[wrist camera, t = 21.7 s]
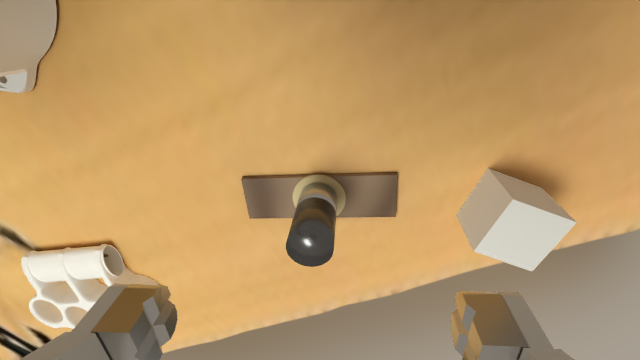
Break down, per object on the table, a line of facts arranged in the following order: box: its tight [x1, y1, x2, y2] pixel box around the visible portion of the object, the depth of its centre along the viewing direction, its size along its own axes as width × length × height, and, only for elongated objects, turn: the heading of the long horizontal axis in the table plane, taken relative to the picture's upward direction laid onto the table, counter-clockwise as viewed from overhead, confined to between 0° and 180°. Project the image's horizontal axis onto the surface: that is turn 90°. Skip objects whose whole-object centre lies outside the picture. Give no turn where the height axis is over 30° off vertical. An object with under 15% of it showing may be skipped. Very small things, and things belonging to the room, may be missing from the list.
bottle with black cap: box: [286, 182, 337, 267], centre depth 31 cm, size 4×4×8 cm
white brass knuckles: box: [21, 244, 158, 329], centre depth 45 cm, size 3×18×15 cm
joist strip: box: [242, 172, 397, 218], centre depth 35 cm, size 16×6×1 cm, turn 94°
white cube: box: [456, 168, 577, 271], centre depth 32 cm, size 6×6×6 cm
